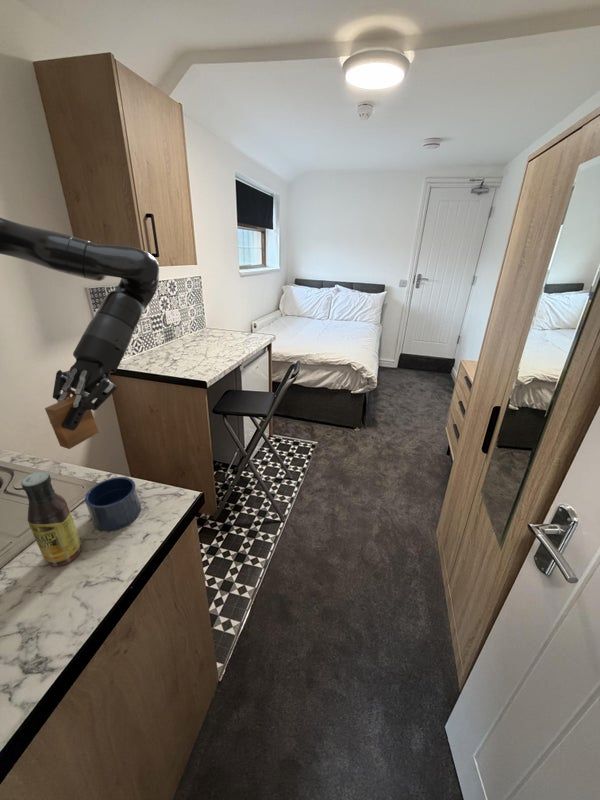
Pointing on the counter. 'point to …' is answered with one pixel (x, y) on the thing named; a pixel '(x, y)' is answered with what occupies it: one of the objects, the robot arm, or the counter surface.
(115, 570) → the counter surface
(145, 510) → the counter surface
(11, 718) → the counter surface
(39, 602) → the counter surface
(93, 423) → the wooden toy block
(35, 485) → the sauce bottle
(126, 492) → the pot
